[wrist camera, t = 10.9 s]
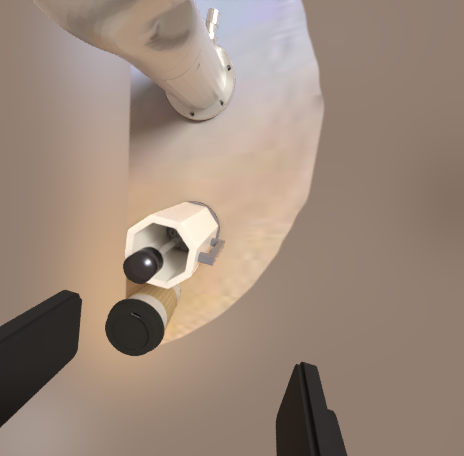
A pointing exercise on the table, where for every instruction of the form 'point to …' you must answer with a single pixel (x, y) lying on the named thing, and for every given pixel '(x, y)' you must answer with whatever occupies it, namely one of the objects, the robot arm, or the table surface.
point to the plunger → (151, 259)
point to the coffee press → (192, 232)
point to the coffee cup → (141, 319)
